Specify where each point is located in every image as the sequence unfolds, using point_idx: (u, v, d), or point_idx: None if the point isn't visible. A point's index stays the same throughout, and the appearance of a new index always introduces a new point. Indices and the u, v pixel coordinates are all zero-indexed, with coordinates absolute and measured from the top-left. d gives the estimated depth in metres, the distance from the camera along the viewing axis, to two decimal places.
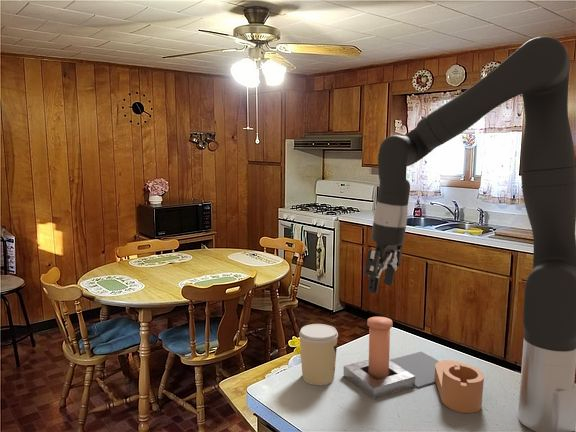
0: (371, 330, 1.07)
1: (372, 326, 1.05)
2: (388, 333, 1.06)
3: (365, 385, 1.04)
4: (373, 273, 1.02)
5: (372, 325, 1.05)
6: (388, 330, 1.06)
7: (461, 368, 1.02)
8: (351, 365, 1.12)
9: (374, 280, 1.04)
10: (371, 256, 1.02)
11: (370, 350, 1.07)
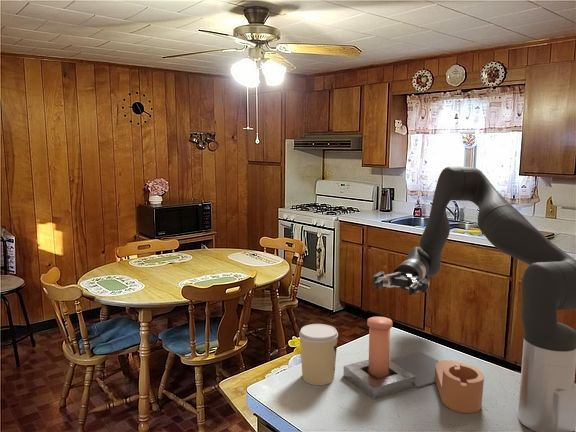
0: (371, 330, 1.07)
1: (372, 326, 1.05)
2: (388, 333, 1.06)
3: (365, 385, 1.04)
4: None
5: (372, 325, 1.05)
6: (388, 330, 1.06)
7: (461, 368, 1.02)
8: (351, 365, 1.12)
9: (377, 280, 1.22)
10: None
11: (370, 350, 1.07)
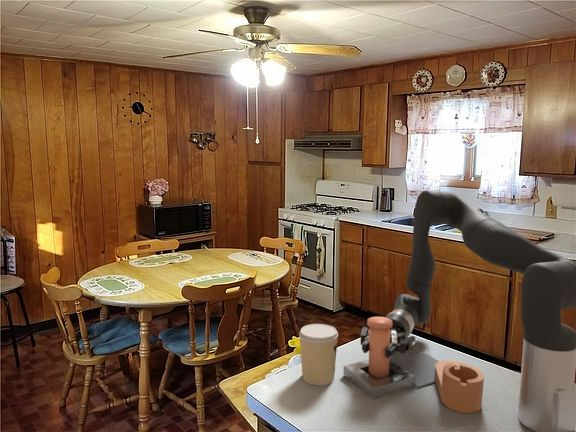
0: (371, 330, 1.07)
1: (372, 326, 1.05)
2: (388, 333, 1.06)
3: (365, 385, 1.04)
4: None
5: (372, 325, 1.05)
6: (388, 330, 1.06)
7: (461, 368, 1.02)
8: (351, 365, 1.12)
9: (365, 341, 1.10)
10: None
11: (370, 350, 1.07)
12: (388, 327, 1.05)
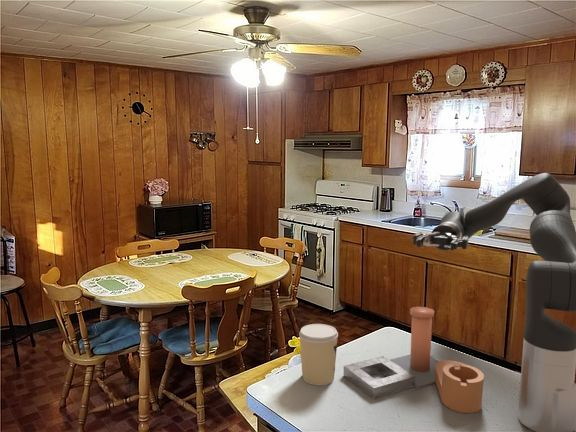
0: (414, 319, 1.12)
1: (415, 315, 1.11)
2: (430, 322, 1.12)
3: (365, 385, 1.04)
4: None
5: (415, 314, 1.11)
6: (430, 319, 1.12)
7: (461, 368, 1.02)
8: (351, 365, 1.12)
9: (418, 239, 1.26)
10: None
11: (413, 338, 1.13)
12: (431, 316, 1.11)
